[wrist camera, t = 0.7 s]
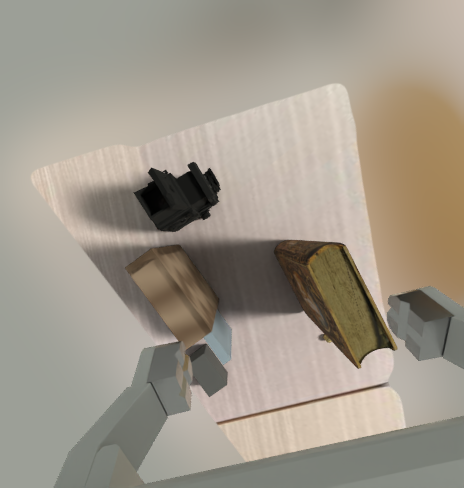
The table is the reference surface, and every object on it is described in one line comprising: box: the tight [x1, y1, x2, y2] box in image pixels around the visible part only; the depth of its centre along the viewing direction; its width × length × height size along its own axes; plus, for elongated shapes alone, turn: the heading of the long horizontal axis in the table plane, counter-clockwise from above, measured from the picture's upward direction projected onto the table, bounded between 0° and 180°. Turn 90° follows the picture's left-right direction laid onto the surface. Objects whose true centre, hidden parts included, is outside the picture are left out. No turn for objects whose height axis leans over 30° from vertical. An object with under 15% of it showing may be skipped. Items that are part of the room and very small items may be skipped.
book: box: [274, 240, 397, 369], centre depth 44 cm, size 16×6×25 cm, turn 27°
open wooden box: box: [125, 245, 219, 350], centre depth 47 cm, size 15×5×20 cm, turn 36°
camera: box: [133, 162, 221, 232], centre depth 46 cm, size 10×14×20 cm
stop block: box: [190, 344, 228, 397], centre depth 55 cm, size 8×4×5 cm, turn 36°
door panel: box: [203, 310, 232, 365], centre depth 50 cm, size 12×2×14 cm, turn 36°
